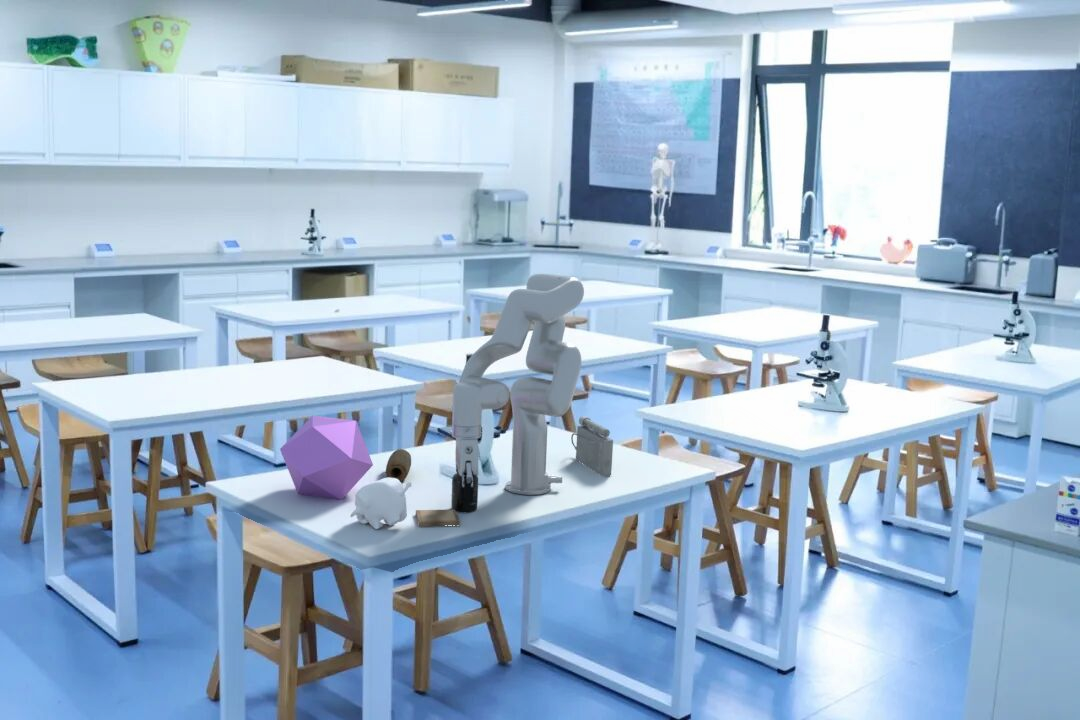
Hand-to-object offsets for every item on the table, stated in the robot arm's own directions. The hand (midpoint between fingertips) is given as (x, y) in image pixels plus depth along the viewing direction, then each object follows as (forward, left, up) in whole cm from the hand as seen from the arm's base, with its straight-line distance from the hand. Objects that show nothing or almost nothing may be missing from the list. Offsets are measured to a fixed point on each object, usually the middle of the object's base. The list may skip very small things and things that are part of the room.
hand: (464, 497), depth 297 cm
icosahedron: (+35, -17, -4) cm, 39 cm away
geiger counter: (-43, -41, -4) cm, 60 cm away
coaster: (+8, +9, -3) cm, 12 cm away
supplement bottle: (0, 0, -3) cm, 3 cm away
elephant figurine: (+22, +12, -4) cm, 25 cm away
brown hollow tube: (+15, -33, -4) cm, 36 cm away
